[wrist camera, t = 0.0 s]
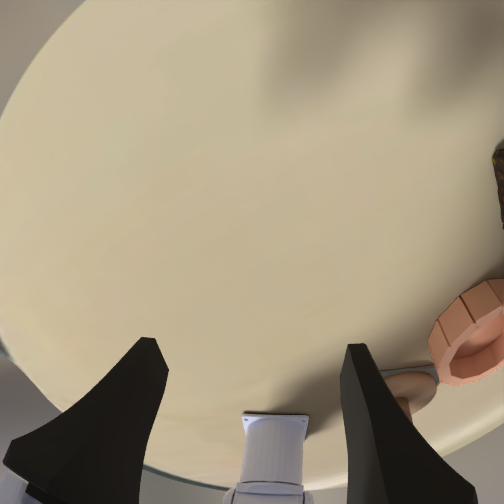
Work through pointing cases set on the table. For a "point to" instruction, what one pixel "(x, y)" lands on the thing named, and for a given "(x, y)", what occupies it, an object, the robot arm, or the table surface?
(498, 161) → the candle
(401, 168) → the table surface
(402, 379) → the lid
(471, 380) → the bowl
